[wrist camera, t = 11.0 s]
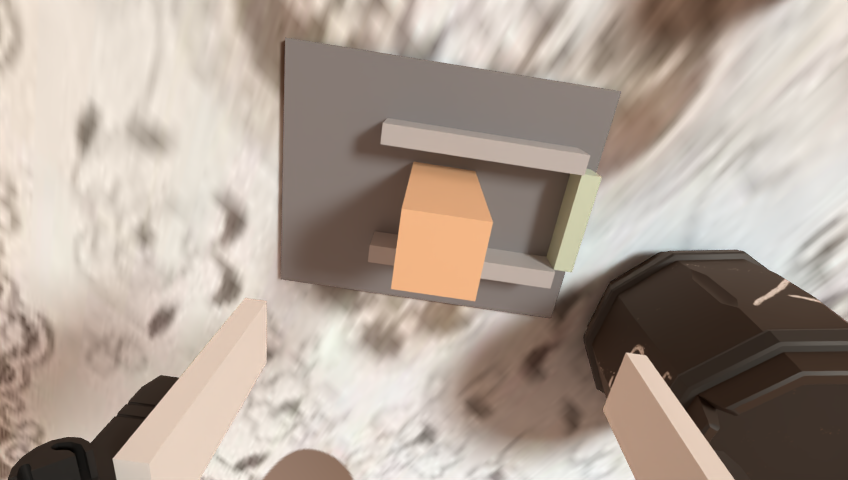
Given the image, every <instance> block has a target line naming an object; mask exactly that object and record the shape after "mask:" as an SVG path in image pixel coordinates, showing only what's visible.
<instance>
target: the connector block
mask: <svg viewBox="0 0 848 480" xmlns="http://www.w3.org/2000/svg"><path fill="white" fill-rule="evenodd" d="M492 225H493V221H492V218H491V215H490V212H489V209H488V206H487V203H486V201H485V198H484V195H483V192H482V189H481V186H480V183H479V180H478V178H477V175H476V172H475V171H472V170H466V169H459V168H453V167H446V166H440V165H433V164H427V163H420V162H413V166H412V170H411V174H410V178H409V182H408V186H407V190H406V194H405V198H404V201H403V205H402V210H401V217H400V225H399V232H398V240H397V247H396V255H395V262H394V270H393V277H392V285H391V289H394V290H401V291H408V292H415V293H422V294H429V295H435V296H442V297H449V298H456V299H463V300H470V301H475V300H476V296H477V291H478V287H479V282H480V278H481V273H482V269H483V265H484V260H485V256H486V251H487V247H488V242H489V238H490V233H491V229H492Z"/></svg>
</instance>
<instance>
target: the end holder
mask: <svg viewBox="0 0 848 480" xmlns="http://www.w3.org/2000/svg"><path fill="white" fill-rule="evenodd" d="M620 94H621V91H615V90H609V89H603V88H597V87H590V86H584V85H578V84H572V83H565V82H559V81H553V80H547V79H540V78H534V77H528V76H522V75H515V74H509V73H503V72H497V71H491V70H484V69H478V68H472V67H466V66H459V65H453V64H447V63H441V62H434V61H428V60H422V59H416V58H410V57H403V56H397V55H391V54H385V53H378V52H372V51H366V50H360V49H353V48H347V47H341V46H335V45H329V44H322V43H316V42H310V41H304V40H297V39H291V38H285V77H284V131H283V184H282V237H281V279H284V280H291V281H297V282H304V283H311V284H318V285H325V286H332V287H339V288H346V289H353V290H360V291H367V292H373V293H380V294H387V295H394V296H401V297H408V298H415V299H422V300H429V301H436V302H442V303H449V304H456V305H463V306H470V307H477V308H484V309H491V310H498V311H505V312H512V313H518V314H525V315H532V316H539V317H546V318H551V316H552V313H553V310H554V307H555V304H556V300H557V297H558V294H559V291H560V287H561V284H562V281H563V278H564V275H565V271H566V272H572V270H573V267H574V264H575V260H576V257H577V254H578V251H579V248H580V245H581V242H582V238H583V235H584V232H585V229H586V226H587V223H588V219H589V216H590V213H591V210H592V207H593V204H594V201H595V197H596V194H597V191H598V188H599V185H600V182H601V179H602V177H601V176H600V175H598V174H597V173H596V172H597V168H598V165H599V162H600V159H601V155H602V152H603V149H604V146H605V143H606V139H607V136H608V133H609V130H610V126H611V123H612V120H613V117H614V114H615V110H616V107H617V104H618V101H619V97H620ZM413 162H420V163H427V164H433V165H440V166H446V167H453V168H459V169H466V170H472V171H475V172H476V175H477V178H478V180H479V183H480V186H481V189H482V192H483V195H484V198H485V201H486V203H487V206H488V209H489V212H490V215H491V218H492V221H493V225H492V229H491V233H490V238H489V242H488V247H487V251H486V256H485V260H484V265H483V269H482V273H481V278H480V282H479V287H478V291H477V296H476V300H475V301H470V300H463V299H456V298H449V297H442V296H435V295H429V294H422V293H415V292H408V291H401V290H394V289H391V285H392V277H393V270H394V262H395V255H396V247H397V240H398V232H399V225H400V217H401V210H402V205H403V201H404V198H405V194H406V190H407V186H408V182H409V178H410V174H411V170H412V166H413Z"/></svg>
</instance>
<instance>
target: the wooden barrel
mask: <svg viewBox="0 0 848 480" xmlns="http://www.w3.org/2000/svg"><path fill="white" fill-rule="evenodd" d="M584 344H585V347H586V351H587V355H588V358H589V362H590V366H591V369H592V373H593V377H594V380H595V384H596V388H597V389H598V390H600V391H601V392H603V393H605V395H606V398H608V395H609V393H610V390H611V388H612V385H613V383H614V381H615V378H616V376H617V373H618V371H619V368H620V366H621V363H622V361H623V358H624V356H625V354H626V353H632V354H639V355H646V356H647V357H648V358H649V360H650V361H651V363H652V364H653V366H654V367H655V368H656V370H657V371H658V373H659V374H660V375H661V377H662V378H663V380H664V381H665V382H666V384H667V385H668V387H669V388H670V389H671V391H672V392H673V394H674V395H675V396H676V398H677V399H678V401H679V402H680V403H681V405H682V406H683V408H684V409H685V411H686V412H687V413H688V415H689V416H690V418H691V419H692V420H693V422H694V423H695V425H696V426H697V427H698V429H699V430H700V432H701V433H702V434H703V436H704V437H705V439H706V440H707V441H708V443H709V444H710V446H711V447H712V448H713V450H716V451H723V452H725V453H726V454H727V455H728V456H729V457H730V458H731V459H732V460H734V461H735V462H736V463H737V464H738V465H739V466H740V467H741V468H742V469H743V470H744V472H745V473H746V474H747V476H748V477H749V478H750V480H848V322H847V321H845V320H844V319H843V318H841V317H840V316H839V315H838V314H836V313H835V312H834V311H832V310H831V309H830V308H828V307H827V306H826V305H824V304H823V303H822V302H820V301H819V300H818V299H816V298H815V297H813V296H812V295H810V294H809V293H807V292H805V291H804V290H802V289H800V288H799V287H797V286H796V285H794V284H792V283H791V282H789V281H788V280H786V279H784V278H783V277H781V276H779V275H778V274H776V273H774V272H772V271H769V270H768V269H767V268H765V267H764V266H763V265H761V264H760V263H759V262H757V261H756V260H755V259H753V258H752V257H751V256H749V255H748V254H747V253H745V252H744V251H739V250H700V251H668V252H660V253H658V254H656V255H655V256H653V257H651V258H650V259H648V260H646V261H645V262H643V263H641V264H640V265H638V266H636V267H635V268H633V269H631V270H630V271H628V272H626V273H624V274H623V275H621V276H619V277H618V278H616V279H614V280H613V281H611V282H610V283H609V285H608V287H607V289H606V291H605V293H604V295H603V297H602V299H601V301H600V303H599V305H598V307H597V309H596V311H595V313H594V314H593V316H592V318H591V320H590V322H589V324H588V329H587V331H586V333H585V335H584Z"/></svg>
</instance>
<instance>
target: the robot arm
mask: <svg viewBox="0 0 848 480" xmlns="http://www.w3.org/2000/svg"><path fill="white" fill-rule="evenodd" d="M266 356H267V301H262V300H255V299H248V298H245V299H244V300H243V301H242V303H241V304H240V305H239V306H238V307H237V309H236V310H235V311H234V312H233V313H232V315H231V316H230V317H229V318H228V320H227V321H226V322H225V323H224V324H223V326H222V327H221V328H220V329H219V330H218V332H217V333H216V334H215V335H214V337H213V338H212V339H211V340H210V341H209V343H208V344H207V345H206V346H205V347H204V349H203V350H202V351H201V352H200V353H199V355H198V356H197V357H196V358H195V360H194V361H193V362H192V363H191V364H190V366H189V367H188V368H187V369H186V370H185V372H184V373H183V374H182V375H181V377H180V378H177V377H170V376H162V375H160V376H159V377H157V378H155V379H154V380H152V381H151V382H149V383H147V384H146V385H144V386H143V387H141V389H140V390H139V391H138V392H137V393H136V394H135V395H134V396H133V397H132V398H131V399H130V401H129V403H128V404H126V405H125V406H124V407H123V408H122V409H121V410H120V411H119V412H118V415H117V416H116V417H114V418H113V419H112V420H111V421H110V422H109V423H108V424H107V426H106V427H105V428H104V429H103V430H102V431H101V432H100V433H99V434H98V435H97V436H96V438H95V439H94V440H93V441H92V442H91V443H89V442H88V441H86V440H84V439H82V438H76V437H66V438H61V439H56V440H52V441H50V442H47V443H45V444H43V445H40V446H38V447H36V448H35V449H33V450H32V451H30V452H29V453H27V454H26V455H24V456H23V457H22V458H21V459H20V460H19V461H18V462H17V463H16V464H15V465H14V467H13V468H12V470H11V472H10V475H9V477H8V480H200V478H201V476H202V474H203V473H204V471H205V469H206V467H207V466H208V464H209V462H210V460H211V459H212V457H213V455H214V453H215V452H216V450H217V448H218V446H219V445H220V443H221V441H222V439H223V438H224V436H225V434H226V433H227V431H228V429H229V427H230V426H231V424H232V422H233V420H234V419H235V417H236V415H237V413H238V412H239V410H240V408H241V406H242V405H243V403H244V401H245V399H246V398H247V396H248V394H249V392H250V391H251V389H252V387H253V386H254V384H255V382H256V380H257V379H258V377H259V375H260V373H261V372H262V370H263V368H264V366H265V365H266ZM603 412H604V414H605V416H606V418H607V420H608V422H609V424H610V426H611V429H612V431H613V433H614V435H615V437H616V439H617V441H618V443H619V445H620V448H621V450H622V452H623V454H624V456H625V458H626V460H627V462H628V464H629V467H630V469H631V471H632V473H633V475H634V477H635V479H636V480H750V478H749V477H748V476H747V474H746V473H745V472H744V470H743V469H742V468H741V467H740V466H739V465H738V464H737V463H736V462H735V461H734V460H732V459H731V458H730V457H729V456H728V455H727V454H726V453H725V452H723V451H716V450H713V448H712V447H711V446H710V444H709V443H708V441H707V440H706V439H705V437H704V436H703V434H702V433H701V432H700V430H699V429H698V427H697V426H696V425H695V423H694V422H693V420H692V419H691V418H690V416H689V415H688V413H687V412H686V411H685V409H684V408H683V406H682V405H681V403H680V402H679V401H678V399H677V398H676V396H675V395H674V394H673V392H672V391H671V389H670V388H669V387H668V385H667V384H666V382H665V381H664V380H663V378H662V377H661V375H660V374H659V373H658V371H657V370H656V368H655V367H654V366H653V364H652V363H651V361H650V360H649V358H648V357H647V356H646V355H639V354H632V353H626V354H625V356H624V358H623V361H622V363H621V366H620V368H619V371H618V373H617V376H616V378H615V381H614V383H613V385H612V388H611V390H610V393H609V395H608V398H607V400H606V403H605V405H604V407H603Z"/></svg>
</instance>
